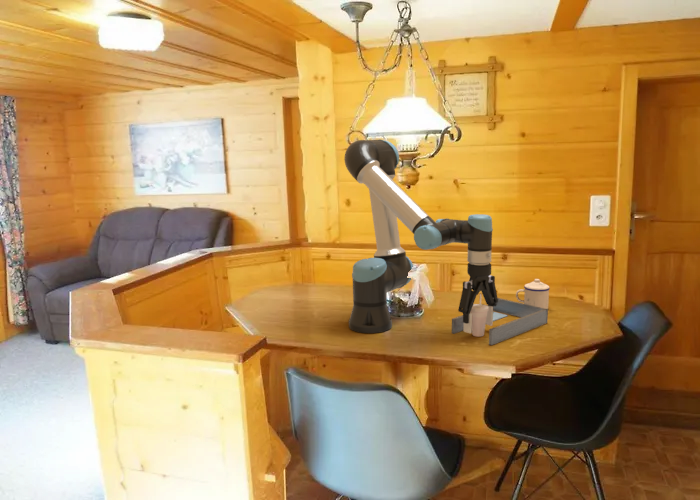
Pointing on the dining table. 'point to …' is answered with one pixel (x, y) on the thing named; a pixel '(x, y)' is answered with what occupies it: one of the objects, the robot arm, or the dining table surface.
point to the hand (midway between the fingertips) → (478, 328)
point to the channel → (528, 321)
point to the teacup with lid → (535, 294)
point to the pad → (498, 316)
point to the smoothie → (479, 318)
